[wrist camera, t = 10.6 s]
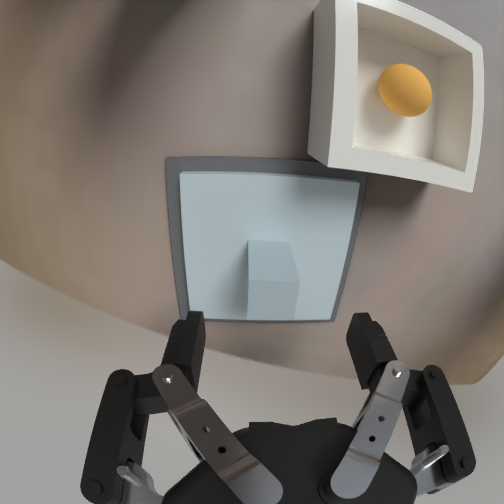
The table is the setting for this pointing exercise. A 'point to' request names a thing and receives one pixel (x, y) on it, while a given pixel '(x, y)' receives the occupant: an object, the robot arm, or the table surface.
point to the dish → (372, 106)
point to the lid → (265, 243)
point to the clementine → (405, 90)
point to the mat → (247, 165)
